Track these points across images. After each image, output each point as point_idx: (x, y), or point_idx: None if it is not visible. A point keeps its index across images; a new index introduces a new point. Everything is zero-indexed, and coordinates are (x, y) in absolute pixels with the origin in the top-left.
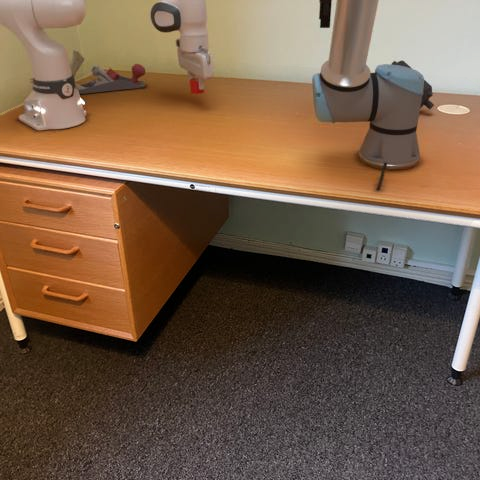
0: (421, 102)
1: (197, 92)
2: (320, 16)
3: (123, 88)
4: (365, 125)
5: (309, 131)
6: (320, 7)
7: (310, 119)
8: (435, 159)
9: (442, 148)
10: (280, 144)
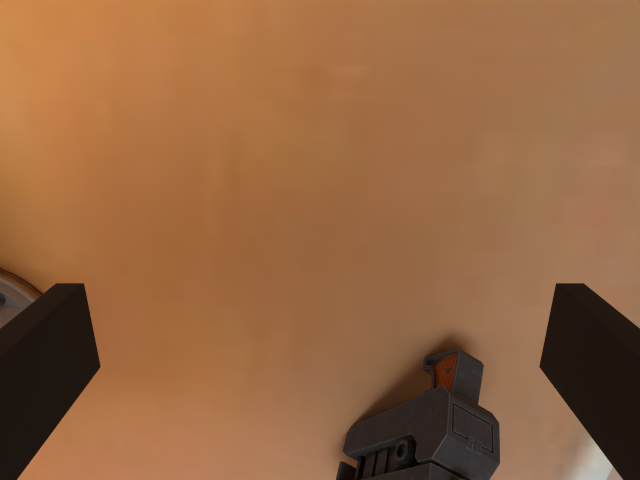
0: (338, 476)
1: None
2: (566, 308)
3: None
4: (242, 300)
5: (157, 120)
6: (629, 361)
7: (284, 125)
8: None
9: (99, 453)
10: (5, 12)
